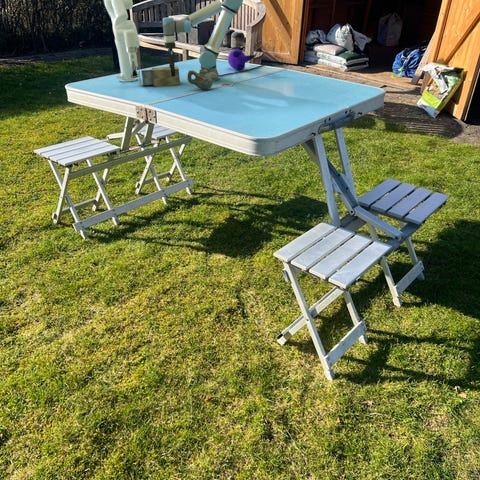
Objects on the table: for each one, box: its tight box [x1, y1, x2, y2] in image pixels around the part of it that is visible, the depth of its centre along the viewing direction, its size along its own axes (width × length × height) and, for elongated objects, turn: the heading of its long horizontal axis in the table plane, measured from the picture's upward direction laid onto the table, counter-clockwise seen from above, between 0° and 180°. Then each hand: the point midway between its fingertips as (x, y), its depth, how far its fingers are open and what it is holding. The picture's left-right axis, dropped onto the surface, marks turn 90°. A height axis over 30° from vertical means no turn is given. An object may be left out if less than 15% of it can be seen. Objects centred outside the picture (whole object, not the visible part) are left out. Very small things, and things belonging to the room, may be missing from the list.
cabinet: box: [151, 65, 181, 88], centre depth 325 cm, size 19×11×11 cm, turn 103°
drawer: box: [130, 69, 154, 87], centre depth 323 cm, size 23×10×9 cm, turn 103°
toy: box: [227, 48, 258, 72], centre depth 368 cm, size 16×18×27 cm
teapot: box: [187, 66, 218, 91], centre depth 306 cm, size 21×12×15 cm, turn 109°
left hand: (135, 77), depth 320 cm, fingers closed
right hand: (172, 75), depth 325 cm, fingers closed on cabinet, 11 cm apart
